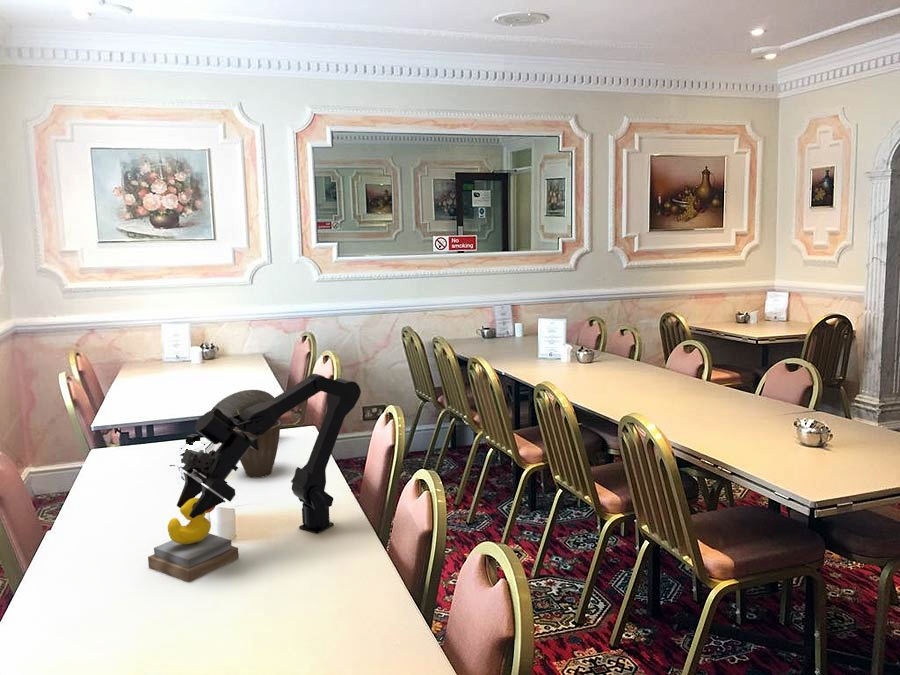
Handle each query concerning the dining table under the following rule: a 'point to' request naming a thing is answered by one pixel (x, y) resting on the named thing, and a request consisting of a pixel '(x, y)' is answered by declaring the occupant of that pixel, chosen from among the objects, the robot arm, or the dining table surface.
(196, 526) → the duckling
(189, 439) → the black block
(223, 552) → the metal-topped wooden square
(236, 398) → the grey brimmed hat
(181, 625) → the dining table surface
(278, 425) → the plant pot
